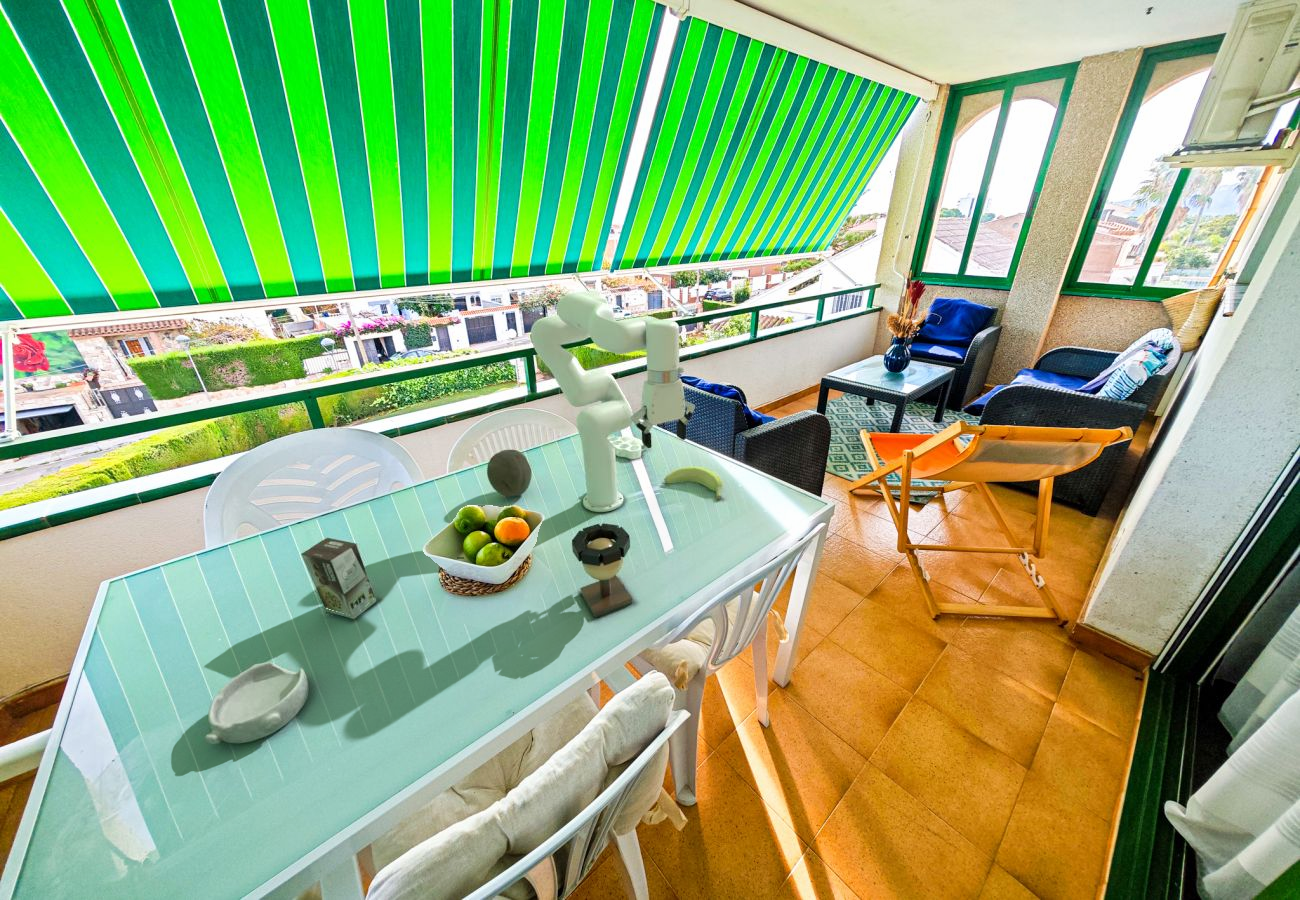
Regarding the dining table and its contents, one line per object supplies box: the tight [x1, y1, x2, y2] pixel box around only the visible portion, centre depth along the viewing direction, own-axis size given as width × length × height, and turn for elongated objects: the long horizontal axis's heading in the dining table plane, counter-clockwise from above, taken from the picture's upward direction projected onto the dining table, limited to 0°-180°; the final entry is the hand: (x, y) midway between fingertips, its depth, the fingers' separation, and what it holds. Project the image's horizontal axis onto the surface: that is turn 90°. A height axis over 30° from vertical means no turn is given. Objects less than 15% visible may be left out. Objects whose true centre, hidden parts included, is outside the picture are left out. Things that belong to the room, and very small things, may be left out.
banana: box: [663, 465, 723, 500], centre depth 149 cm, size 14×6×20 cm
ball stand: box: [579, 538, 633, 619], centre depth 102 cm, size 9×9×16 cm
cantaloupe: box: [486, 449, 533, 498], centre depth 147 cm, size 14×14×15 cm
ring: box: [571, 522, 631, 566], centre depth 99 cm, size 12×12×2 cm
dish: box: [204, 661, 310, 745], centre depth 80 cm, size 14×14×5 cm
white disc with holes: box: [607, 434, 649, 460], centre depth 179 cm, size 3×18×15 cm
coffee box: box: [300, 537, 377, 620], centre depth 102 cm, size 9×6×16 cm
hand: (664, 442), depth 114 cm, fingers open, 9 cm apart
